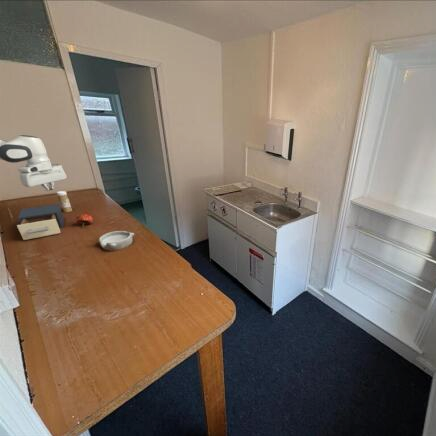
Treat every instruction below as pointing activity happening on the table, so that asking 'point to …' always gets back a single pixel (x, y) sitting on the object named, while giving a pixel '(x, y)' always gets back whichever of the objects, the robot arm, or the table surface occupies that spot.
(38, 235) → the drawer
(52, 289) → the table surface
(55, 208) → the cabinet
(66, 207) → the sprinkles bottle
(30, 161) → the robot arm
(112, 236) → the dish
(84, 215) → the red mushroom
